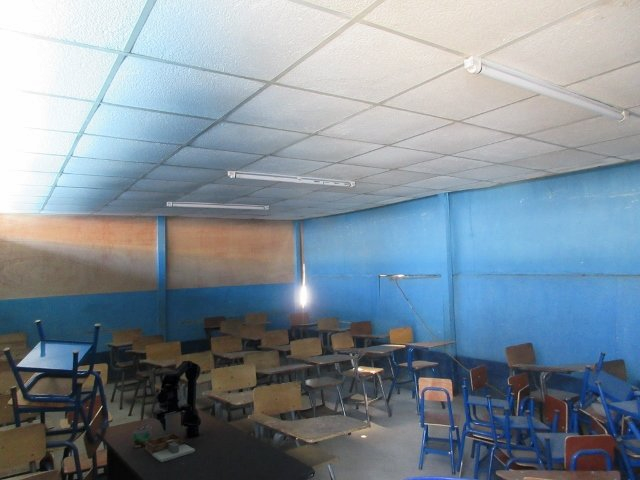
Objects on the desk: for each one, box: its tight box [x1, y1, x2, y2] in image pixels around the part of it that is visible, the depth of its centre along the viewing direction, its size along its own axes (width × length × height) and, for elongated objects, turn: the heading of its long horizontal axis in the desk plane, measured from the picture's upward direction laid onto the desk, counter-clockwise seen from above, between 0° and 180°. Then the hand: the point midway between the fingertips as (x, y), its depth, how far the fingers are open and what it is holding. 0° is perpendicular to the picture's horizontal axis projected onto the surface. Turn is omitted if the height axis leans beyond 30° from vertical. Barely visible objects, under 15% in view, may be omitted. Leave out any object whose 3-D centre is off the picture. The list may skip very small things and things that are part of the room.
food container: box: [132, 422, 153, 449], centre depth 236 cm, size 12×6×10 cm, turn 168°
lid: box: [152, 442, 196, 463], centre depth 219 cm, size 17×12×6 cm
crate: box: [144, 433, 184, 456], centre depth 228 cm, size 16×11×5 cm
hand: (173, 428), depth 225 cm, fingers open, 9 cm apart
